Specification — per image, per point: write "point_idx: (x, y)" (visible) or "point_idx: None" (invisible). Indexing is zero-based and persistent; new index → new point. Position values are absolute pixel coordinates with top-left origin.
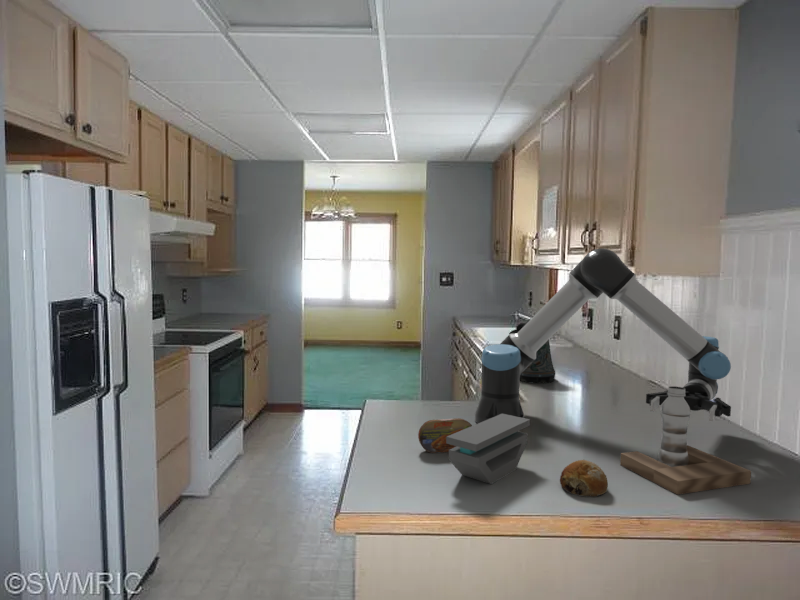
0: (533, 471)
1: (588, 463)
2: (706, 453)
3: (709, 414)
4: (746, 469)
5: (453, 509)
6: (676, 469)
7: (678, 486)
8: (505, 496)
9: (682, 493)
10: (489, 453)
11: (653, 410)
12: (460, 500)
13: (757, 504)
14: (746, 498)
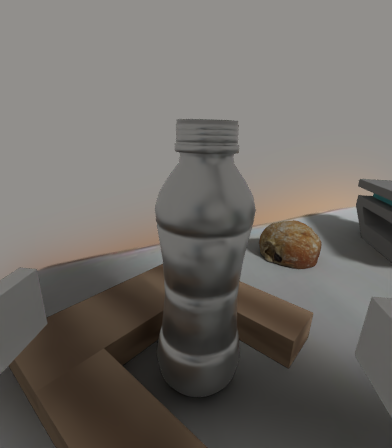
0: (373, 266)
1: (287, 221)
2: (76, 442)
3: (40, 292)
4: None
5: (331, 214)
6: None
7: None
8: (326, 229)
9: None
10: (367, 201)
11: (357, 350)
12: (342, 219)
13: (63, 287)
14: (71, 298)
